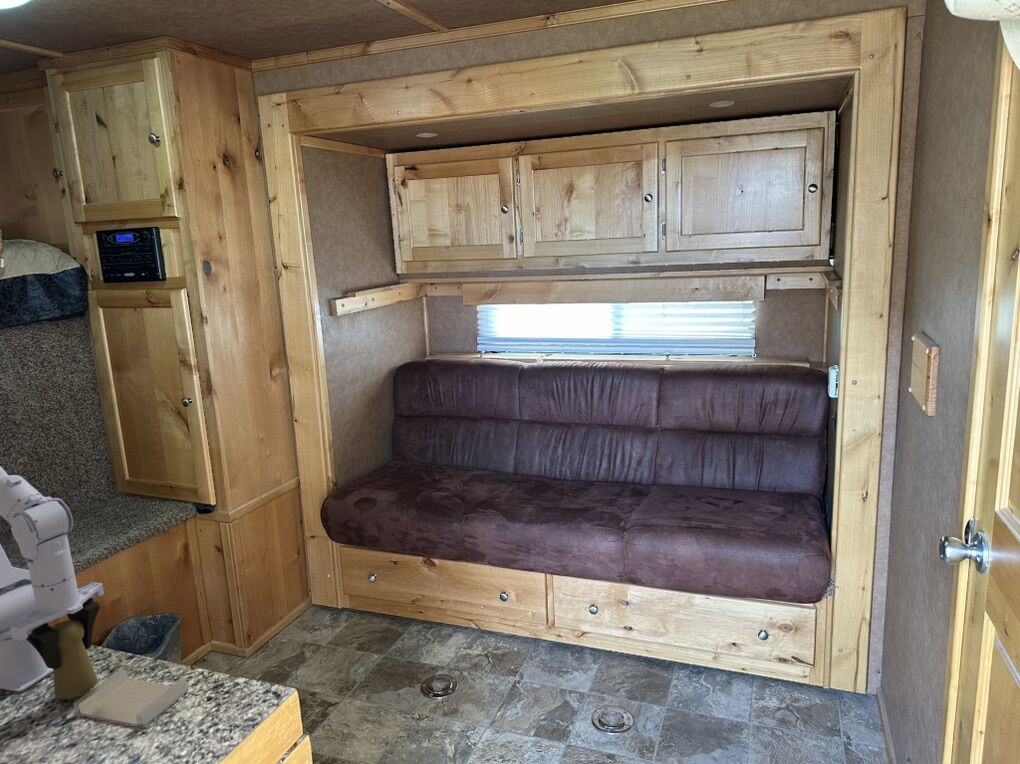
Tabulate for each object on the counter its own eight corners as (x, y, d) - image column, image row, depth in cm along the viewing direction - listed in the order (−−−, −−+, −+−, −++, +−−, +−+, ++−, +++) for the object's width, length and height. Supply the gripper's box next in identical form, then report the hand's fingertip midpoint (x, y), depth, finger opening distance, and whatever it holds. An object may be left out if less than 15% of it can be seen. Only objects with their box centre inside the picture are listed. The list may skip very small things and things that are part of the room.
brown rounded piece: (106, 676, 118) (93, 615, 116) (78, 699, 112) (64, 635, 110) (74, 676, 119) (61, 614, 117) (45, 698, 113) (30, 634, 111)
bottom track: (75, 714, 111) (72, 703, 111) (122, 680, 119) (120, 669, 119) (144, 728, 107) (142, 716, 106) (188, 691, 115) (186, 680, 115)
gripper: (28, 604, 104) (46, 688, 107) (111, 560, 118) (125, 635, 120) (-7, 599, 106) (12, 681, 109) (79, 556, 120) (93, 630, 123)
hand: (69, 657), depth 115 cm, fingers closed on brown rounded piece, 5 cm apart
